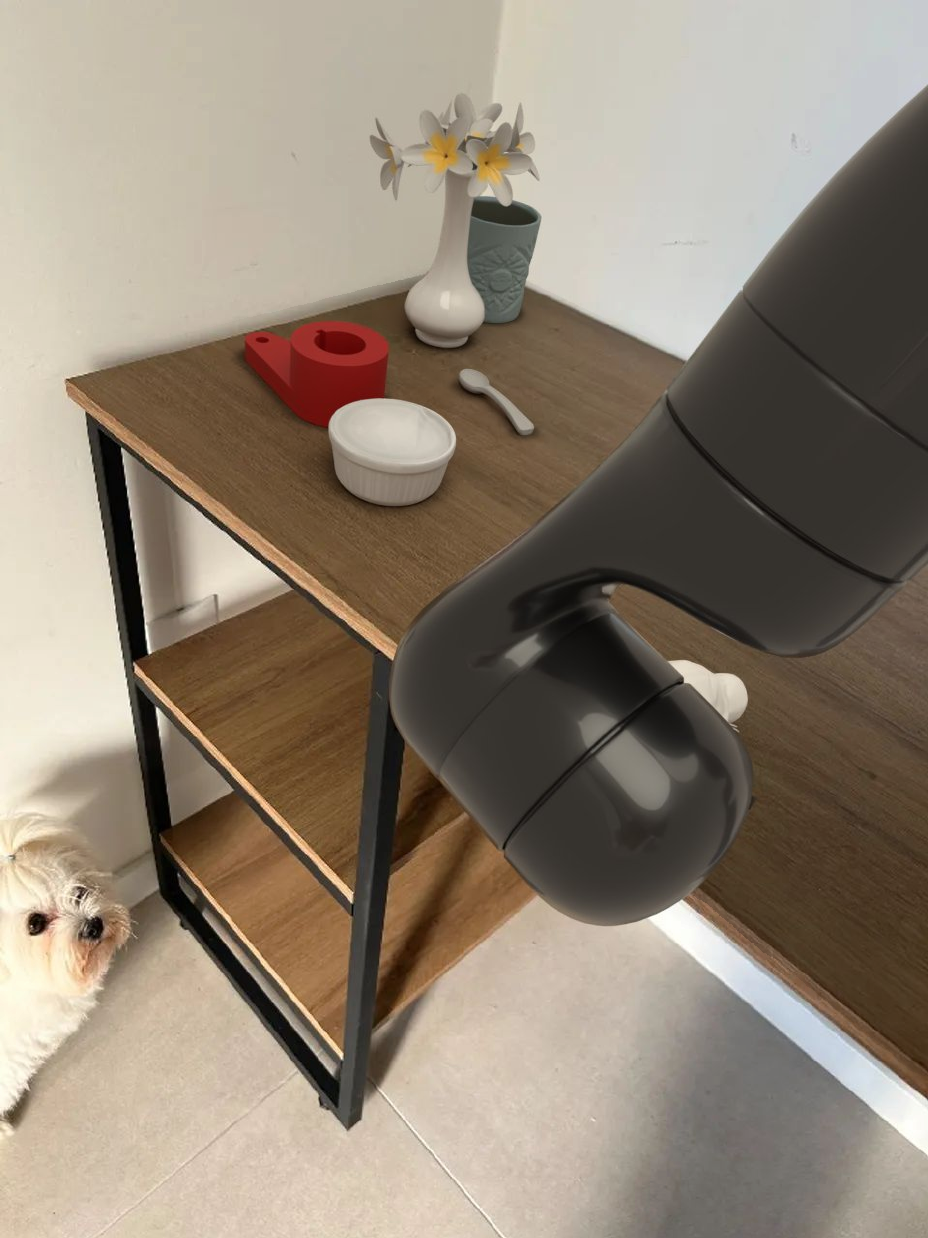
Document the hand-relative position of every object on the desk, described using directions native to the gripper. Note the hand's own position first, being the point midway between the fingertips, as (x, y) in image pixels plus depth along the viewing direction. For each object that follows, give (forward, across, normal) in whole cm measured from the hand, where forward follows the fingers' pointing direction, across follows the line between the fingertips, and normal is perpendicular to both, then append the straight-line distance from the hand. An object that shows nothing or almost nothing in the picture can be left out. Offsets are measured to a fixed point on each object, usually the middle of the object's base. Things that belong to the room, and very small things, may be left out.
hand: (649, 764), depth 58 cm
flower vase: (+37, +46, -31) cm, 67 cm away
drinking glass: (+45, +47, -40) cm, 77 cm away
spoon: (+30, +34, -25) cm, 52 cm away
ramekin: (+17, +34, -11) cm, 40 cm away
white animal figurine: (+8, 0, -2) cm, 8 cm away
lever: (+23, +50, -17) cm, 57 cm away
